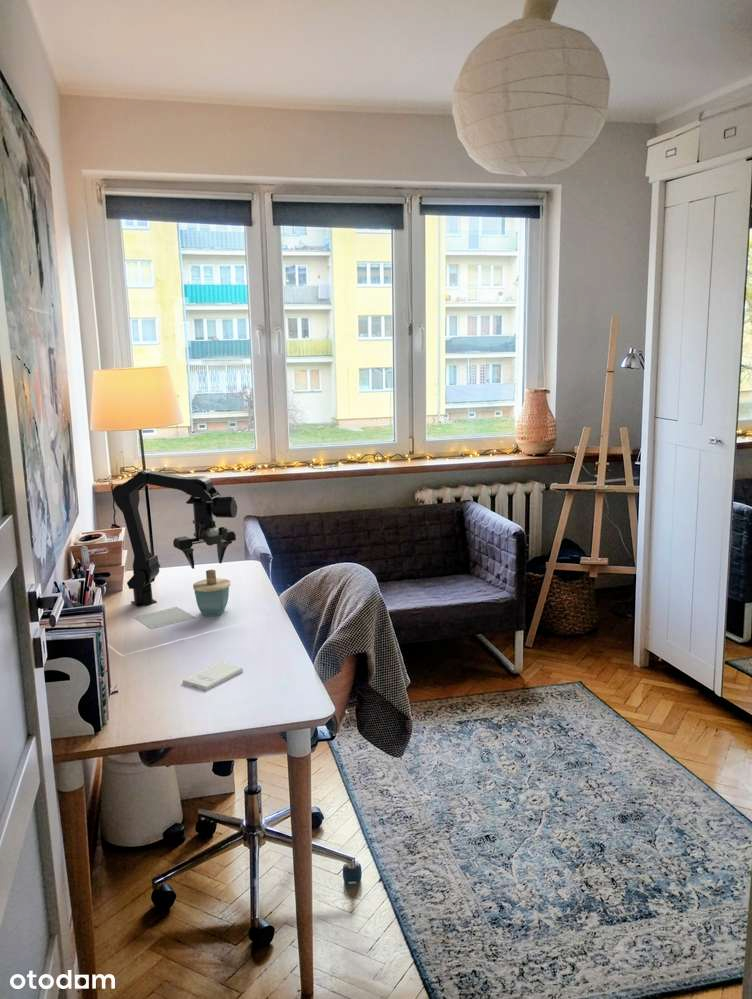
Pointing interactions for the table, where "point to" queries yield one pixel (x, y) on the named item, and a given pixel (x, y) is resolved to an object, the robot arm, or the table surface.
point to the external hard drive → (212, 675)
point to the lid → (211, 583)
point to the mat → (164, 617)
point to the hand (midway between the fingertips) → (206, 565)
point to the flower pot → (212, 602)
